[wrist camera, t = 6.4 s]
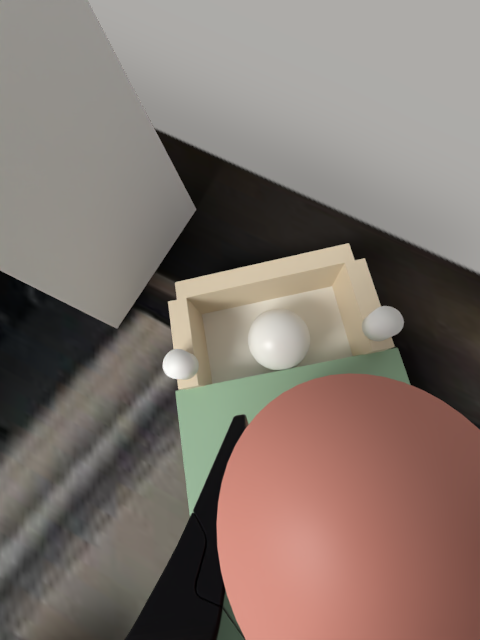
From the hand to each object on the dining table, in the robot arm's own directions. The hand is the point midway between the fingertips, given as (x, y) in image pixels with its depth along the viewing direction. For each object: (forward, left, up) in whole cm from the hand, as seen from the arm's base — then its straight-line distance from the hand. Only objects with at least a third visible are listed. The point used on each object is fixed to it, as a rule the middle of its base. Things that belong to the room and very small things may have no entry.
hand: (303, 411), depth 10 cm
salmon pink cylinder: (-2, +1, -6) cm, 6 cm away
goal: (+4, -2, -10) cm, 11 cm away
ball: (+3, -2, -8) cm, 9 cm away
